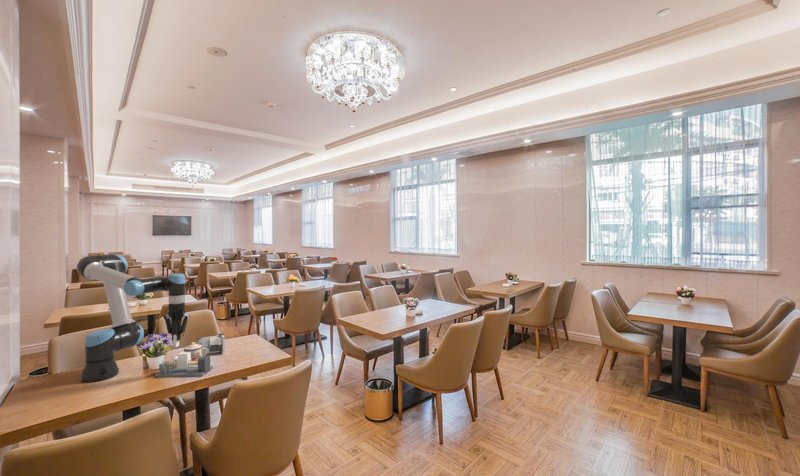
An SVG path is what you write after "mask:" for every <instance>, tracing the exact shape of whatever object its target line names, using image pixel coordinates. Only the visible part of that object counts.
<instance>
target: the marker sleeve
mask: <svg viewBox="0 0 800 476" xmlns="http://www.w3.org/2000/svg"><path fill="white" fill-rule="evenodd" d="M188 362H191V352H184V351H180V352H179V353H178V354H177V369H183V368H188V367H192V365H188Z"/></svg>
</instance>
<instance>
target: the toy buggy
mask: <svg viewBox="0 0 800 476" xmlns="http://www.w3.org/2000/svg"><path fill="white" fill-rule="evenodd" d="M224 335H225V333H224V332H220V333H218V334H217V335H212V336H205V337H202V336H197V337H196V338H195V339H196V340H198V342H195V344H199V345H201V346H202V348H206V349H207V354H206V355H208V354H213V353H220V354H225V350H226V349H225V336H224ZM201 352H202V355H204V354H205V352H206V350H205V349H202V350H201Z"/></svg>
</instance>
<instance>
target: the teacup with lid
mask: <svg viewBox="0 0 800 476" xmlns="http://www.w3.org/2000/svg"><path fill="white" fill-rule="evenodd" d="M195 343H196V342H194V341H193V342H191V343H190V344H188V345H186V346H185V347H184V348H183V352H191V362H193V361H198V359H199V358H201V357H202V356H207V355H208V354H207V349H206V348H202V346H201V345H199V344H195ZM202 349H205V350H206V352H205V354H203V355H202V352H201V350H202Z"/></svg>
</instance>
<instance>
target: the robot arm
mask: <svg viewBox="0 0 800 476" xmlns="http://www.w3.org/2000/svg"><path fill="white" fill-rule="evenodd" d="M128 268H129V264H128V260H127V259H126V258H125V256H123V255H121V254H115V253H114V254H96V255H88V256H84V257H83V258H81V259H80V260H79V261H78V263H77V264H76V272H77V274H78V275H79V276H81V277H83V278H85V279H87V280H97V281H100V282H101V283H102V284H103V288H104V291H105V296H106V300H107V303H108V304H107V305H108V309H109V314H110V317H111V322H112V324H111V326H110V328H103V329H98V330H95V331H93V332H90V333H89V334H87V335H86V337H85V339H84V340H85V342H84V346H85V347H84V354H85V357H84V358H85V364H84V367H83V369H82V373H81V375H80V381H81V382H87V383H89V382H98V381H103V380H107V379H110V378H113V377H115V376H117V375H118V374H119V373H120V368H119V367H118V364H117V361H116V359H115V353H116V352H119V351H123V350H125V349H129V348H132V347H134V346H137V345H139V344H140V343H141V342H142V341H143V339H144V335H145V331H144V328H143V326H142V325H140V324H137V321H136V320H134V319H133V317H132V314H131V309H130V306H129V302H128V301H129V300H128V297H129V296H130V297H131V296H139V295H145V294H149V293H151V294H152V293H156V292H161V291H162V292H168V307H167V308H168V309H167V310H168V313H167V314H165V315H164V316H162V319H164V322H165V325H166V329H167V333H168V334H170V335H171V341H173V343H172V345H173V347H172V348H177V347H180V340H181V339H182V337H181V336H182V335H183V334H184V333H185V331H186V328H187V323H188V320H189V319H190V318H191V315H189V314H186V312H185V310H186V303H185V302H186V282H187V281H186V275H185V274H184V273H170V274H168V276H159V275H157V276H155V275H154V276H152V277H150V278H149V277H147V278H139V277H135V276H133V275H130V274H127V273H126V272H127V271H128ZM127 296H128V297H127ZM181 334H182V335H181Z"/></svg>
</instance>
